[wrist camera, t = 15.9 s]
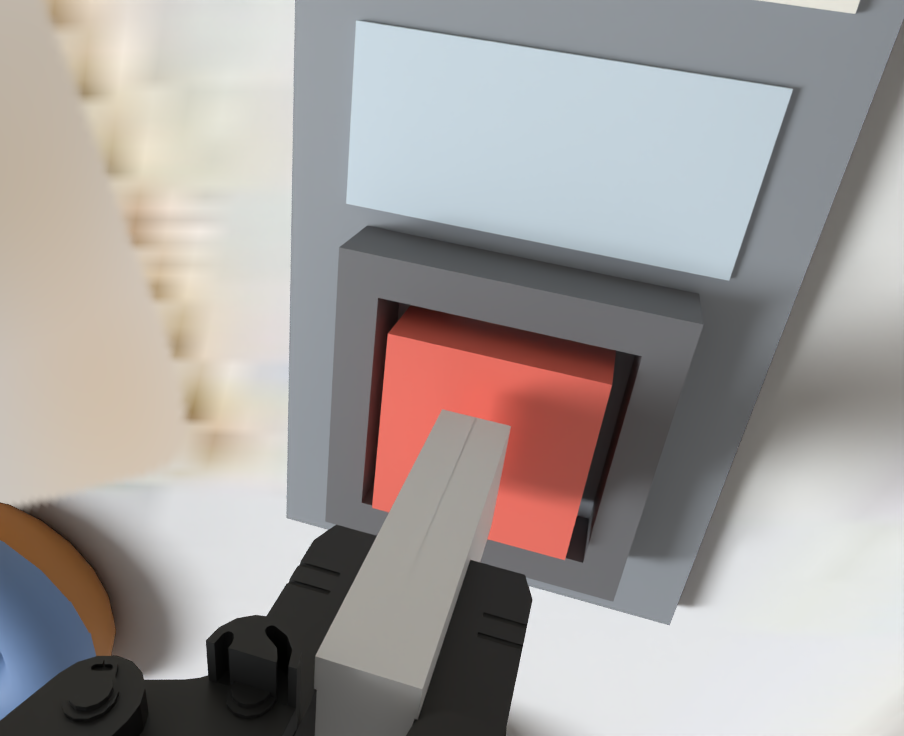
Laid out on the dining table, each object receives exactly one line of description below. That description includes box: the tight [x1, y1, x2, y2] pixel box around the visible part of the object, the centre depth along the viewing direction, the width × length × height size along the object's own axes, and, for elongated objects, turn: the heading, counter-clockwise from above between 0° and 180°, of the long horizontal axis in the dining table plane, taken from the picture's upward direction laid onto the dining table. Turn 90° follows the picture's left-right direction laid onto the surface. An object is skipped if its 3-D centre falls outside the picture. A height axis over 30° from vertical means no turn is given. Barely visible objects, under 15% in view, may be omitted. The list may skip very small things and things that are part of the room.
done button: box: [372, 305, 616, 560], centre depth 18 cm, size 5×5×2 cm
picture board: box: [287, 0, 904, 625], centre depth 14 cm, size 30×12×3 cm, turn 173°
